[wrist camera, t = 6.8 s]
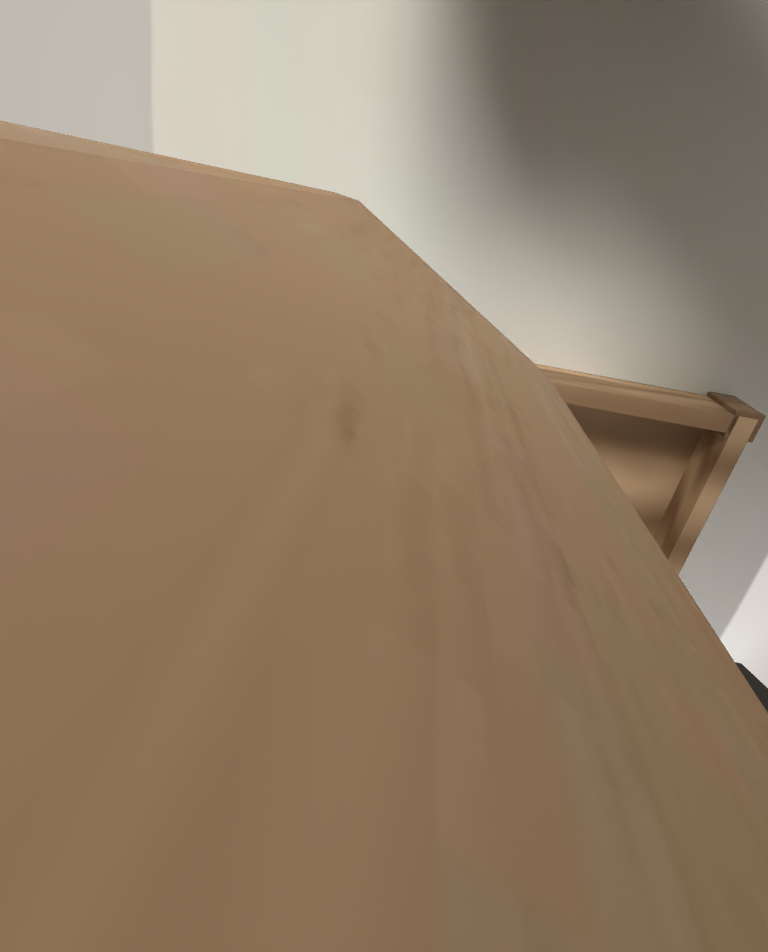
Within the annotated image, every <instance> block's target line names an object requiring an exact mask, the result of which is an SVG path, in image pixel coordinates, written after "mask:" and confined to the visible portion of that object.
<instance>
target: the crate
mask: <svg viewBox="0 0 768 952" xmlns="http://www.w3.org/2000/svg"><path fill="white" fill-rule="evenodd" d="M535 365H536V366H537V367H538V368H540V369H541V370H542V371H543V372H544V373H545V374H546V375H547V376H548V377H549V379H550V380H551V382H552V383H553V385H554V386H555V388H556V389H557V391H558V392H559V394H560V395H561V397H562V399H563V400H564V402H565V403H566V405H567V406H568V408H569V409H570V411H571V412H572V414H573V415H574V417H575V418H576V420H577V421H578V423H579V425H580V426H581V428H582V429H583V431H584V432H585V434H586V435H587V437H588V438H589V440H590V441H591V443H592V444H593V446H594V448H595V449H596V451H597V452H598V454H599V455H600V457H601V458H602V460H603V461H604V463H605V464H606V466H607V467H608V469H609V471H610V472H611V474H612V475H613V477H614V478H615V480H616V481H617V483H618V484H619V486H620V487H621V489H622V490H623V492H624V494H625V495H626V497H627V498H628V500H629V501H630V503H631V504H632V506H633V507H634V509H635V510H636V512H637V513H638V515H639V516H640V518H641V520H642V521H643V523H644V524H645V526H646V527H647V529H648V530H649V532H650V533H651V535H652V536H653V538H654V539H655V541H656V543H657V544H658V546H659V547H660V549H661V550H662V552H663V553H664V555H665V556H666V558H667V559H668V561H669V562H670V564H671V566H672V567H673V569H674V570H675V572H676V573H677V575H678V574H679V572H680V570H681V568H682V566H683V564H684V563H685V561H686V559H687V557H688V555H689V553H690V551H691V549H692V547H693V545H694V543H695V541H696V539H697V537H698V536H699V534H700V532H701V530H702V528H703V526H704V524H705V522H706V520H707V518H708V516H709V514H710V512H711V510H712V509H713V507H714V505H715V503H716V501H717V499H718V497H719V495H720V493H721V491H722V489H723V487H724V485H725V484H726V482H727V480H728V478H729V476H730V474H731V472H732V470H733V468H734V466H735V464H736V462H737V460H738V458H739V457H740V455H741V453H742V451H743V449H744V447H745V445H746V443H747V442H752V441H753V439H754V438H755V436H756V434H757V432H758V430H759V428H760V426H761V424H762V422H763V420H764V418H765V417H766V416H764V415H763V414H761V413H760V412H758V411H757V410H755V409H754V408H752V407H750V406H749V405H747V404H746V403H744V402H743V401H741V400H739V399H738V398H736V397H735V396H730V395H724V394H719V393H714V392H708V394H707V396H706V395H700V394H695V393H690V392H684V391H679V390H673V389H668V388H662V387H657V386H652V385H646V384H641V383H635V382H630V381H625V380H619V379H614V378H608V377H603V376H597V375H592V374H587V373H581V372H576V371H570V370H565V369H560V368H554V367H549V366H543V365H538V364H535Z"/></svg>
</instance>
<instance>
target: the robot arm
mask: <svg viewBox="0 0 768 952" xmlns="http://www.w3.org/2000/svg"><path fill="white" fill-rule="evenodd" d="M735 664H736V665H737V667H738V668H739V670H740V671H741V673H742V674H743V676H744V677H745V679H746V680H747V682H748V683H749V685H750V687H751V688H752V690H753V691H754V693H755V694H756V696H757V697H758V699H759V700H760V702H761V703H762V705H763V706H764V708H765V710H766V711H767V713H768V688H767V687H766V686H765V685H763V684H762V683H761V682H760V681H759V680H758V679H757V678H756V677H755V676H754V675H753V674H752V673H751V672H750V671H748V670H747V669H746V668H745V667H744V666H743V665H742V664H740V663H736V662H735Z"/></svg>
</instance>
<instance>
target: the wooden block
mask: <svg viewBox="0 0 768 952" xmlns="http://www.w3.org/2000/svg"><path fill="white" fill-rule="evenodd" d="M0 952H768V713H767V711H766V710H765V708H764V706H763V705H762V703H761V702H760V700H759V699H758V697H757V696H756V694H755V693H754V691H753V690H752V688H751V687H750V685H749V683H748V682H747V680H746V679H745V677H744V676H743V674H742V673H741V671H740V670H739V668H738V667H737V665H736V664H735V662H734V661H733V659H732V657H731V656H730V654H729V653H728V651H727V650H726V648H725V647H724V645H723V644H722V642H721V641H720V639H719V638H718V636H717V634H716V633H715V631H714V630H713V628H712V627H711V625H710V624H709V622H708V621H707V619H706V618H705V616H704V615H703V613H702V611H701V610H700V608H699V607H698V605H697V604H696V602H695V601H694V599H693V598H692V596H691V595H690V593H689V592H688V590H687V588H686V587H685V585H684V584H683V582H682V581H681V579H680V578H679V576H678V575H677V573H676V572H675V570H674V569H673V567H672V566H671V564H670V562H669V561H668V559H667V558H666V556H665V555H664V553H663V552H662V550H661V549H660V547H659V546H658V544H657V543H656V541H655V539H654V538H653V536H652V535H651V533H650V532H649V530H648V529H647V527H646V526H645V524H644V523H643V521H642V520H641V518H640V516H639V515H638V513H637V512H636V510H635V509H634V507H633V506H632V504H631V503H630V501H629V500H628V498H627V497H626V495H625V494H624V492H623V490H622V489H621V487H620V486H619V484H618V483H617V481H616V480H615V478H614V477H613V475H612V474H611V472H610V471H609V469H608V467H607V466H606V464H605V463H604V461H603V460H602V458H601V457H600V455H599V454H598V452H597V451H596V449H595V448H594V446H593V444H592V443H591V441H590V440H589V438H588V437H587V435H586V434H585V432H584V431H583V429H582V428H581V426H580V425H579V423H578V421H577V420H576V418H575V417H574V415H573V414H572V412H571V411H570V409H569V408H568V406H567V405H566V403H565V402H564V400H563V399H562V397H561V395H560V394H559V392H558V391H557V389H556V388H555V386H554V385H553V383H552V382H551V380H550V379H549V377H548V376H547V375H546V374H545V373H544V372H543V371H542V370H541V369H540V368H538V367H537V366H536V365H535V364H534V363H533V362H532V361H531V360H530V359H529V358H528V357H527V356H525V355H524V354H523V353H522V352H521V351H520V350H519V349H518V348H517V347H516V346H515V345H514V344H513V343H511V342H510V341H509V340H508V339H507V338H506V337H505V336H504V335H503V334H502V333H501V332H500V331H499V330H497V329H496V328H495V327H494V326H493V325H492V324H491V323H490V322H489V321H488V320H487V319H486V318H485V317H483V316H482V315H481V314H480V313H479V312H478V311H477V310H476V309H475V308H474V307H473V306H472V305H471V304H469V303H468V302H467V301H466V300H465V299H464V298H463V297H462V296H461V295H460V294H459V293H458V292H457V291H455V290H454V289H453V288H452V287H451V286H450V285H449V284H448V283H447V282H446V281H445V280H444V279H443V278H441V277H440V276H439V275H438V274H437V273H436V272H435V271H434V270H433V269H432V268H431V267H430V266H428V265H427V264H426V263H425V262H424V261H423V260H422V259H421V258H420V257H419V256H418V255H417V254H416V253H414V252H413V251H412V250H411V249H410V248H409V247H408V246H407V245H406V244H405V243H404V242H403V241H402V240H400V239H399V238H398V237H397V236H396V235H395V234H394V233H393V232H392V231H391V230H390V229H389V228H388V227H386V226H385V225H384V224H383V223H382V222H381V221H380V220H379V219H378V218H377V217H376V216H375V215H374V214H372V213H371V212H370V211H369V210H368V209H367V208H366V207H365V206H364V205H363V204H362V203H361V202H360V201H357V200H355V199H352V198H349V197H346V196H343V195H340V194H337V193H334V192H330V191H325V190H321V189H316V188H311V187H307V186H302V185H297V184H293V183H288V182H283V181H279V180H274V179H269V178H265V177H260V176H255V175H251V174H246V173H241V172H237V171H232V170H227V169H223V168H218V167H214V166H209V165H204V164H200V163H195V162H190V161H186V160H181V159H176V158H172V157H167V156H162V155H158V154H153V153H148V152H144V151H138V150H134V149H130V148H125V147H120V146H116V145H111V144H106V143H102V142H97V141H92V140H87V139H83V138H78V137H73V136H69V135H64V134H60V133H55V132H50V131H46V130H41V129H37V128H32V127H27V126H23V125H18V124H13V123H8V122H4V121H0Z"/></svg>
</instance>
